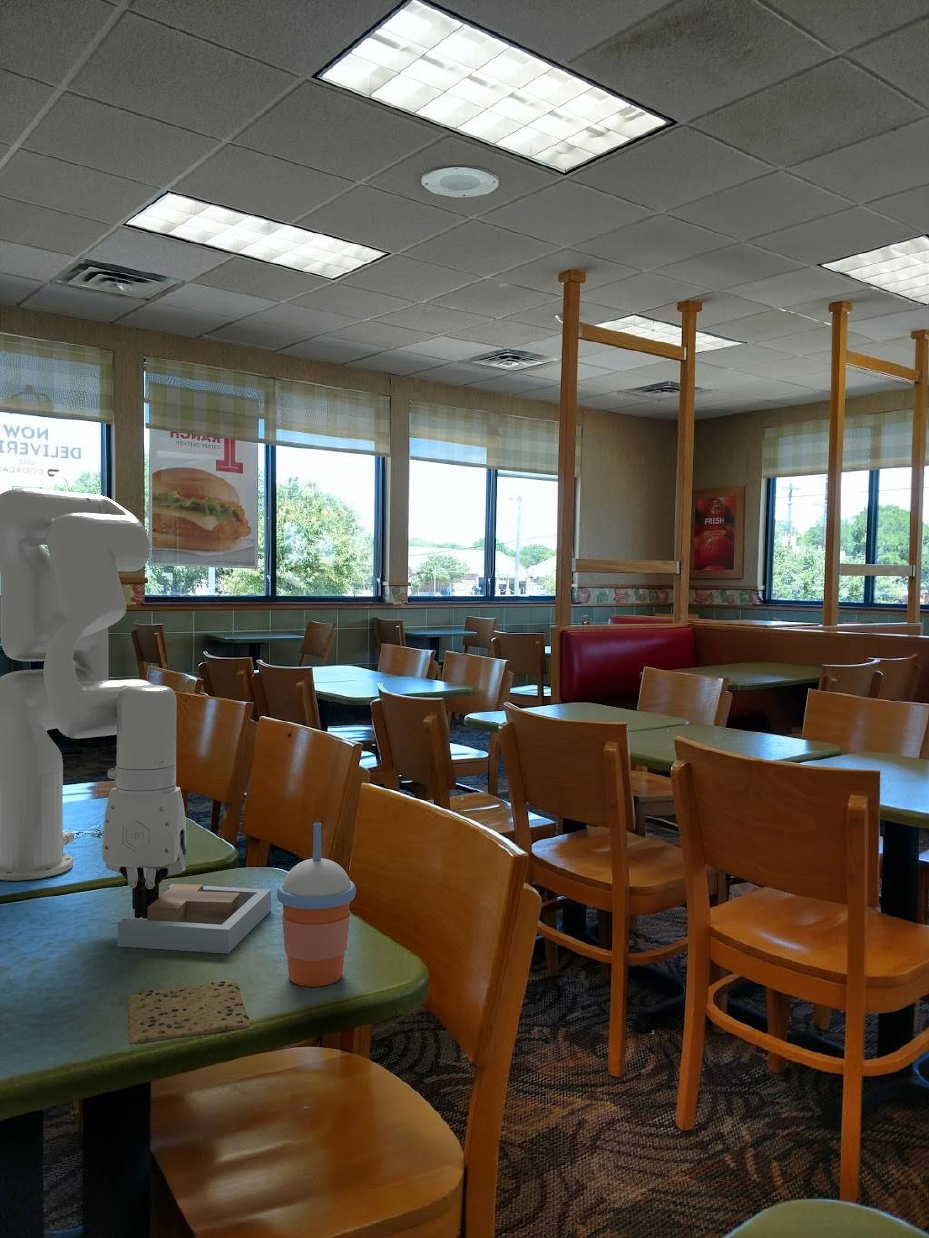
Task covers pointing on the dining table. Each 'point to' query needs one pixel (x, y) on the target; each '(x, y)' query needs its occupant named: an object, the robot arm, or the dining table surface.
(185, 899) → the t block
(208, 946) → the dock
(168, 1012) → the cookie
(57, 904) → the dining table surface
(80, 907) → the dining table surface
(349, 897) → the cup with straw
